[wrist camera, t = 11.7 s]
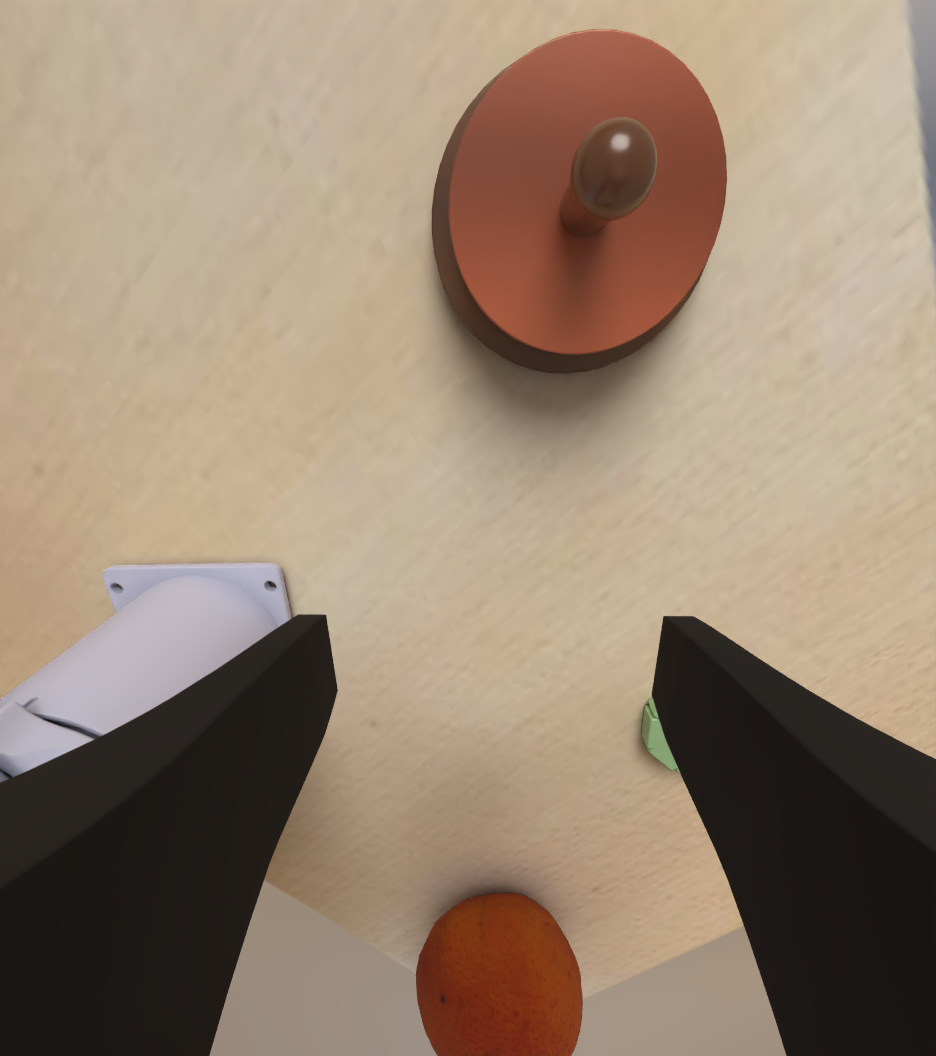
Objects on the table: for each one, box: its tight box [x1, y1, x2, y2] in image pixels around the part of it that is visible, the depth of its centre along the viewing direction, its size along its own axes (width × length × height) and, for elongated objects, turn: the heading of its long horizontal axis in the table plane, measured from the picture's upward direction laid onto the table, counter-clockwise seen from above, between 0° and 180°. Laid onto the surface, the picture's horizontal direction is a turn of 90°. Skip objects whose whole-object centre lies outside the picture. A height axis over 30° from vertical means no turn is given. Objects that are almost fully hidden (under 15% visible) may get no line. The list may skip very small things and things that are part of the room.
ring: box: [641, 698, 680, 773], centre depth 23 cm, size 5×5×1 cm
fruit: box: [416, 893, 583, 1056], centre depth 26 cm, size 9×9×8 cm
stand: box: [432, 29, 727, 373], centre depth 13 cm, size 9×9×7 cm
